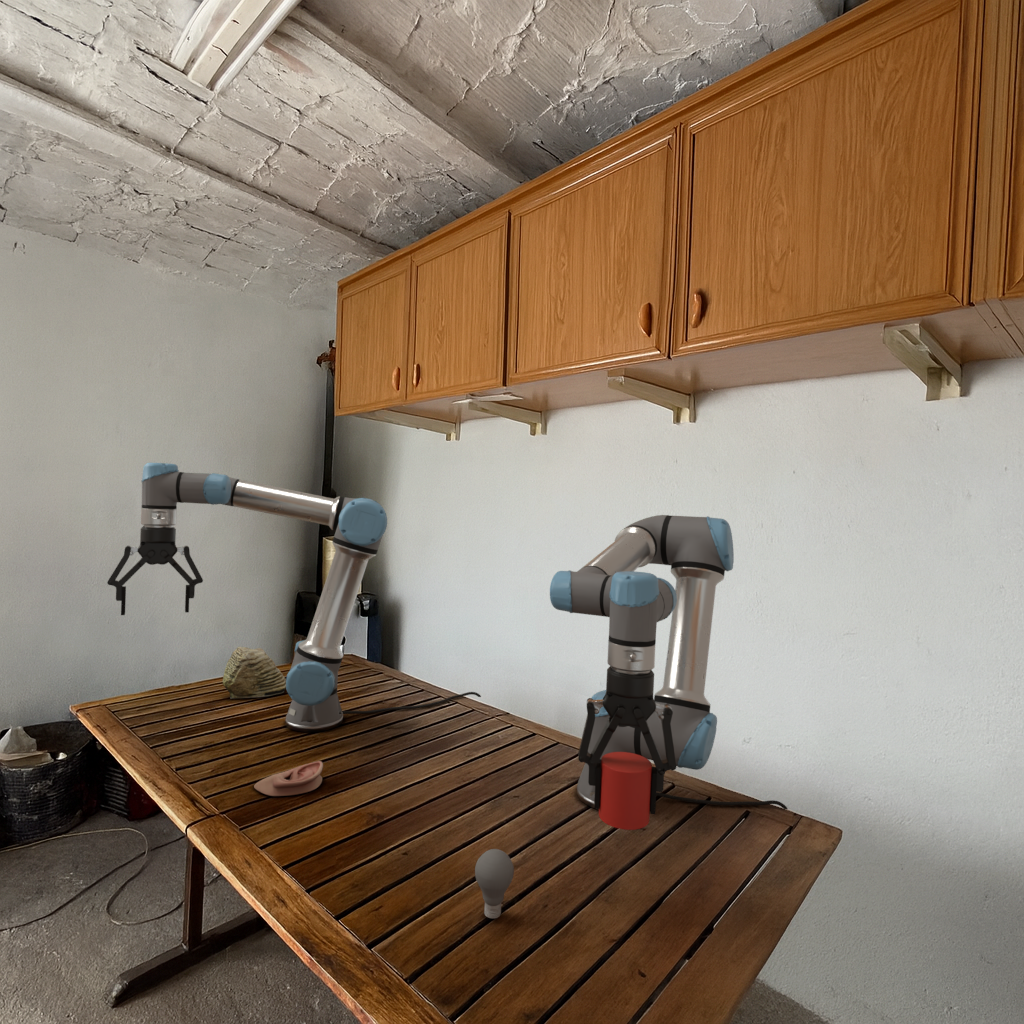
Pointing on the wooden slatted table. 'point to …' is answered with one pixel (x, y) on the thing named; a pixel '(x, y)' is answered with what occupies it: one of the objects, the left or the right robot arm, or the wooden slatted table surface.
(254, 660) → the fossil
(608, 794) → the canister
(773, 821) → the wooden slatted table surface
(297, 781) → the anatomical model
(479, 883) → the light bulb
